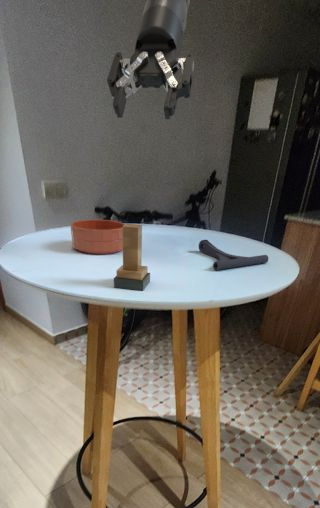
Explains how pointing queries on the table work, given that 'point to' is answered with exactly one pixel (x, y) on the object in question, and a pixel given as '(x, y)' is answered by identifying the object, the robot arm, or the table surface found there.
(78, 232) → the bowl
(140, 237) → the wooden block on stand
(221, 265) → the dark branching pipe
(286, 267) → the table surface
